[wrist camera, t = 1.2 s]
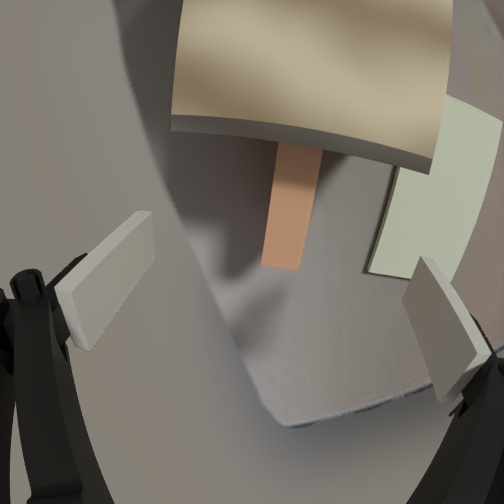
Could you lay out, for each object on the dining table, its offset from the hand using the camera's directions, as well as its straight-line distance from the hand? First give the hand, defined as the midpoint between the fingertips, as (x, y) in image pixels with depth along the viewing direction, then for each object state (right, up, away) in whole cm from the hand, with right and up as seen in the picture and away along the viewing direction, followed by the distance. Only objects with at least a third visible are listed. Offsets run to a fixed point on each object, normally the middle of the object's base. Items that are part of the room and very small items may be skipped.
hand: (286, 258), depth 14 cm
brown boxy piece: (+3, +17, +5) cm, 18 cm away
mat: (+16, +6, +9) cm, 19 cm away
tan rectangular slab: (+2, +11, +9) cm, 14 cm away
